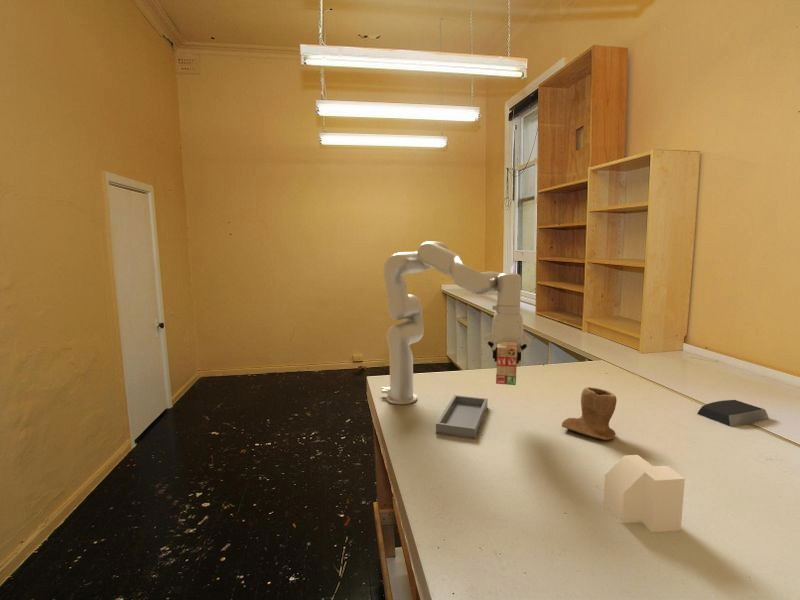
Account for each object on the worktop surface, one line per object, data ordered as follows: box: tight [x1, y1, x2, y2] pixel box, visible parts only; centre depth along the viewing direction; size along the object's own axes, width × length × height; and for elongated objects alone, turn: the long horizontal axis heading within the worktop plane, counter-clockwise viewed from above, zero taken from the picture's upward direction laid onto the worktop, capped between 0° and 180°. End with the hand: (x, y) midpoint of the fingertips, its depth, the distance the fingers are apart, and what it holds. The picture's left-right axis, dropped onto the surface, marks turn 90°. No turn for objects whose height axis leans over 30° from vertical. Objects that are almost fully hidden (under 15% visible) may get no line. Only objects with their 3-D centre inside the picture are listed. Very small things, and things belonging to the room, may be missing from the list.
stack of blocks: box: [495, 341, 518, 386], centre depth 141 cm, size 21×6×12 cm, turn 165°
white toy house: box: [602, 454, 685, 533], centre depth 94 cm, size 11×11×12 cm
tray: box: [435, 394, 488, 440], centre depth 149 cm, size 13×28×4 cm, turn 160°
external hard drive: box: [697, 399, 770, 428], centre depth 148 cm, size 13×19×4 cm
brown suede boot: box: [561, 386, 617, 441], centre depth 137 cm, size 15×12×15 cm
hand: (506, 361), depth 141 cm, fingers closed on stack of blocks, 6 cm apart
